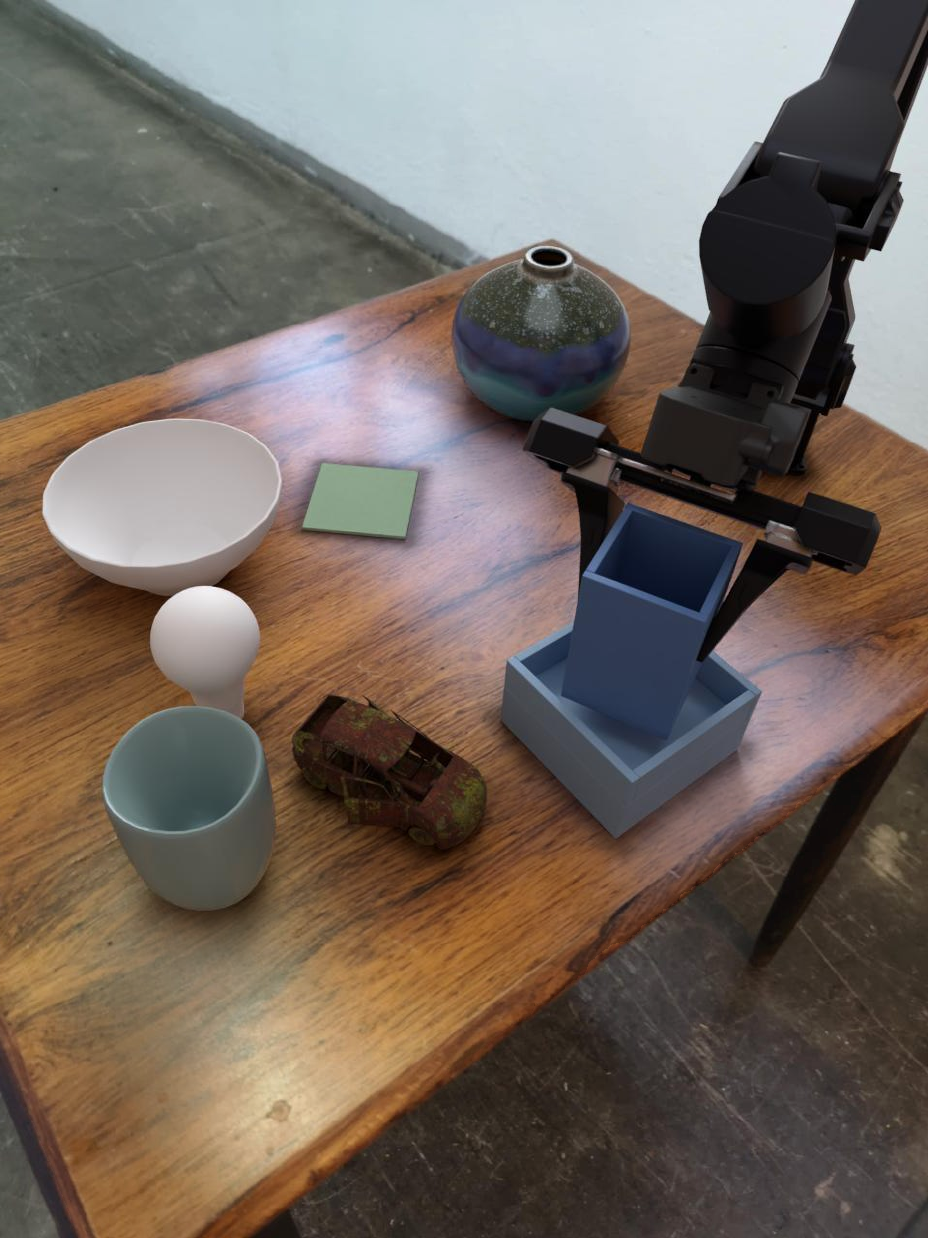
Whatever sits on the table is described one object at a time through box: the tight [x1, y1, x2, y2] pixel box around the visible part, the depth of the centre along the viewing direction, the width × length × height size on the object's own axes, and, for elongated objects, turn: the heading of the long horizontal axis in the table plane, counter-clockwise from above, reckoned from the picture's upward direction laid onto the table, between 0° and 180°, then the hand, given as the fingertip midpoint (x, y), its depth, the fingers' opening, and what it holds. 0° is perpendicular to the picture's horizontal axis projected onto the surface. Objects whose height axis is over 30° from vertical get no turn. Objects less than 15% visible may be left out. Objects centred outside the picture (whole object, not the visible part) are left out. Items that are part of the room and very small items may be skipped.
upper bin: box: [561, 502, 744, 740], centre depth 54 cm, size 7×7×10 cm
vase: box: [451, 245, 632, 423], centre depth 82 cm, size 15×15×13 cm
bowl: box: [41, 418, 283, 597], centre depth 68 cm, size 16×16×7 cm
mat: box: [301, 462, 419, 540], centre depth 76 cm, size 8×8×1 cm
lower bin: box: [500, 620, 763, 839], centre depth 59 cm, size 11×11×6 cm
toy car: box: [291, 694, 488, 850], centre depth 56 cm, size 12×7×5 cm, turn 60°
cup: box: [101, 705, 277, 912], centre depth 50 cm, size 8×8×10 cm
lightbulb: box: [149, 586, 261, 720], centre depth 57 cm, size 6×6×11 cm
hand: (638, 637), depth 53 cm, fingers closed on upper bin, 6 cm apart
